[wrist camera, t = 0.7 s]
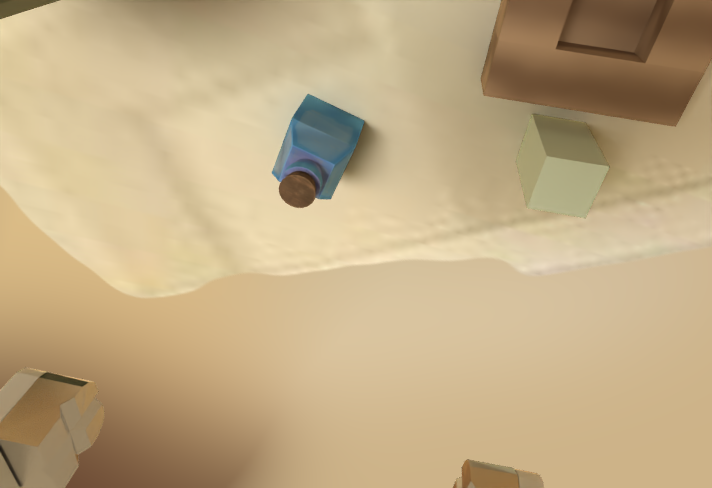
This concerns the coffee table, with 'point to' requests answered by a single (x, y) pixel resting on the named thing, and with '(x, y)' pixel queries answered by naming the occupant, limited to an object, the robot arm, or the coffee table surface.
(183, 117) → the coffee table surface
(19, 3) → the flower pot
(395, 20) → the coffee table surface
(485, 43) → the coffee table surface
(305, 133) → the perfume bottle
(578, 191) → the sage plug
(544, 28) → the walnut stand
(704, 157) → the coffee table surface
